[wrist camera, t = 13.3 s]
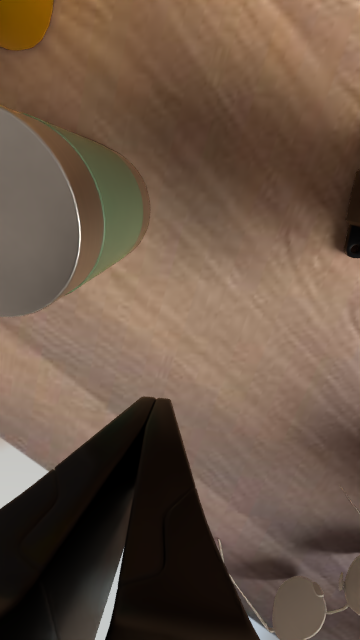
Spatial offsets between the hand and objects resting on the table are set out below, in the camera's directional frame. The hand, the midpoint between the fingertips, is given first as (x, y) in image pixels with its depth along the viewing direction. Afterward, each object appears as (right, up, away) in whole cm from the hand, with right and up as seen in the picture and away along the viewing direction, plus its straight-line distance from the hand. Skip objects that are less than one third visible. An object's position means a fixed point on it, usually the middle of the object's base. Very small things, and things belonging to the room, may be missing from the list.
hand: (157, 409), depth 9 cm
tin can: (-4, +10, +10) cm, 14 cm away
